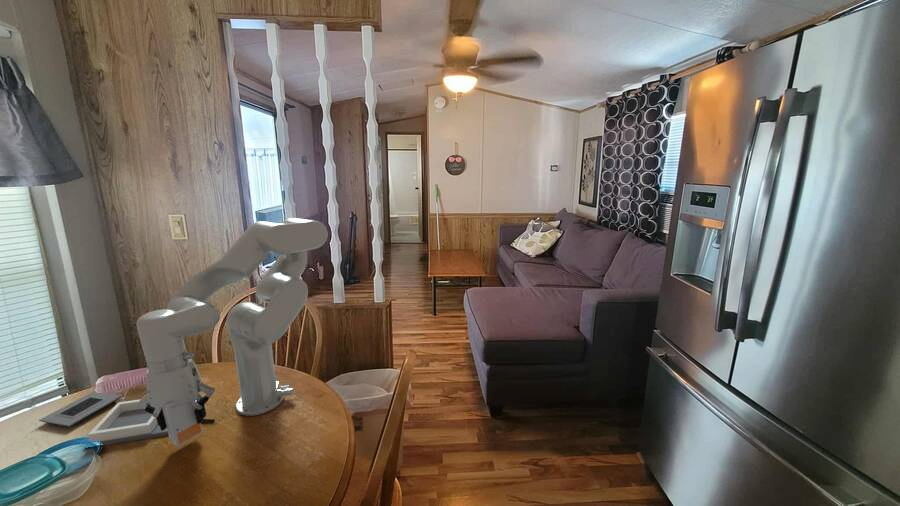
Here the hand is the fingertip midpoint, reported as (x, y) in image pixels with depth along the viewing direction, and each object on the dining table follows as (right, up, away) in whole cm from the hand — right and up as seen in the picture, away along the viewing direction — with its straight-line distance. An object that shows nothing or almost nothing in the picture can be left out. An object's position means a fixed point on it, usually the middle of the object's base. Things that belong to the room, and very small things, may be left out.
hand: (183, 422), depth 90 cm
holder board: (-17, -4, +9) cm, 20 cm away
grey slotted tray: (-39, -4, +13) cm, 41 cm away
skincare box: (0, -4, +1) cm, 5 cm away
